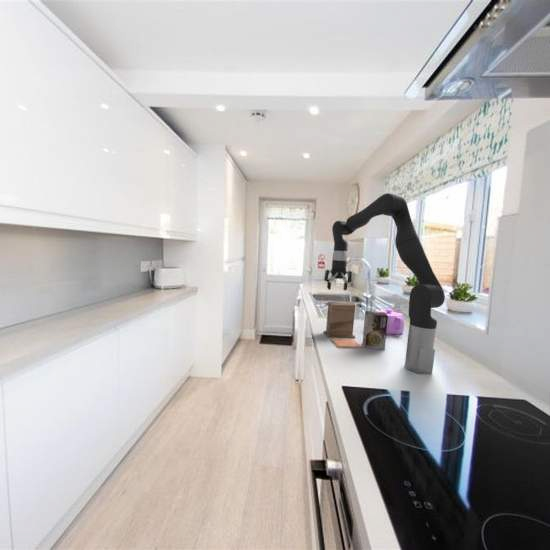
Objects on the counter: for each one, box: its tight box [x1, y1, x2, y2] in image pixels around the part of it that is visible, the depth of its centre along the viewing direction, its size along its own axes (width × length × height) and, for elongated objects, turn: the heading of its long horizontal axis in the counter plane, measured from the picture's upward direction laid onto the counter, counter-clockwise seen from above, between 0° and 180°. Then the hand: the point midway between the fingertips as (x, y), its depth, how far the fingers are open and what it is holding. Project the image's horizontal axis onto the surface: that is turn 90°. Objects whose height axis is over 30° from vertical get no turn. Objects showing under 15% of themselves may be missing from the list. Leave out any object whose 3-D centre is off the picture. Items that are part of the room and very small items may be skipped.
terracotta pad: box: [330, 338, 363, 349], centre depth 141 cm, size 11×11×1 cm
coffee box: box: [362, 310, 388, 350], centre depth 139 cm, size 9×6×16 cm
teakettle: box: [373, 308, 405, 336], centre depth 168 cm, size 17×17×12 cm
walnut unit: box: [323, 301, 356, 339], centre depth 153 cm, size 8×14×16 cm, turn 97°
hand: (337, 289), depth 160 cm, fingers open, 8 cm apart
